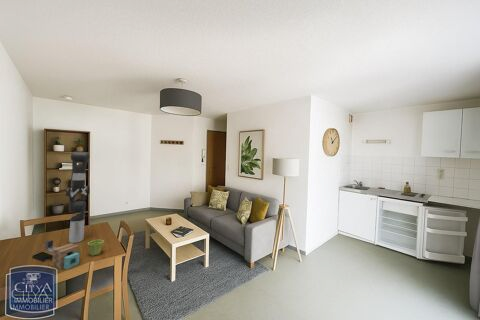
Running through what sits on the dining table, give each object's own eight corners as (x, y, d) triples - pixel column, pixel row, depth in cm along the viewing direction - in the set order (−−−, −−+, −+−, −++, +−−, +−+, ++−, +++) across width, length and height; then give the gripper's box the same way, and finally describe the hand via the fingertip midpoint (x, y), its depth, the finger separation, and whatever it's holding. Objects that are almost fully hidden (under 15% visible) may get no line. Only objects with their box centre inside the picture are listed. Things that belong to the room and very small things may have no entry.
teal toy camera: (63, 268, 123) (64, 257, 123) (75, 263, 130) (76, 252, 130) (66, 269, 122) (67, 258, 122) (78, 264, 129) (79, 253, 129)
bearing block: (52, 266, 125) (53, 249, 125) (70, 259, 134) (71, 243, 134) (60, 269, 122) (61, 251, 122) (77, 261, 132) (78, 245, 132)
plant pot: (92, 250, 147) (93, 239, 148) (105, 251, 148) (106, 239, 148) (83, 256, 138) (84, 244, 138) (97, 257, 139) (98, 244, 139)
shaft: (44, 250, 134) (45, 241, 134) (49, 248, 136) (50, 239, 136) (64, 256, 127) (65, 246, 127) (69, 254, 129) (69, 245, 129)
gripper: (85, 178, 152) (84, 199, 151) (64, 179, 138) (63, 202, 138) (92, 179, 149) (91, 200, 149) (71, 180, 136) (69, 203, 136)
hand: (77, 201), depth 143 cm, fingers open, 8 cm apart
